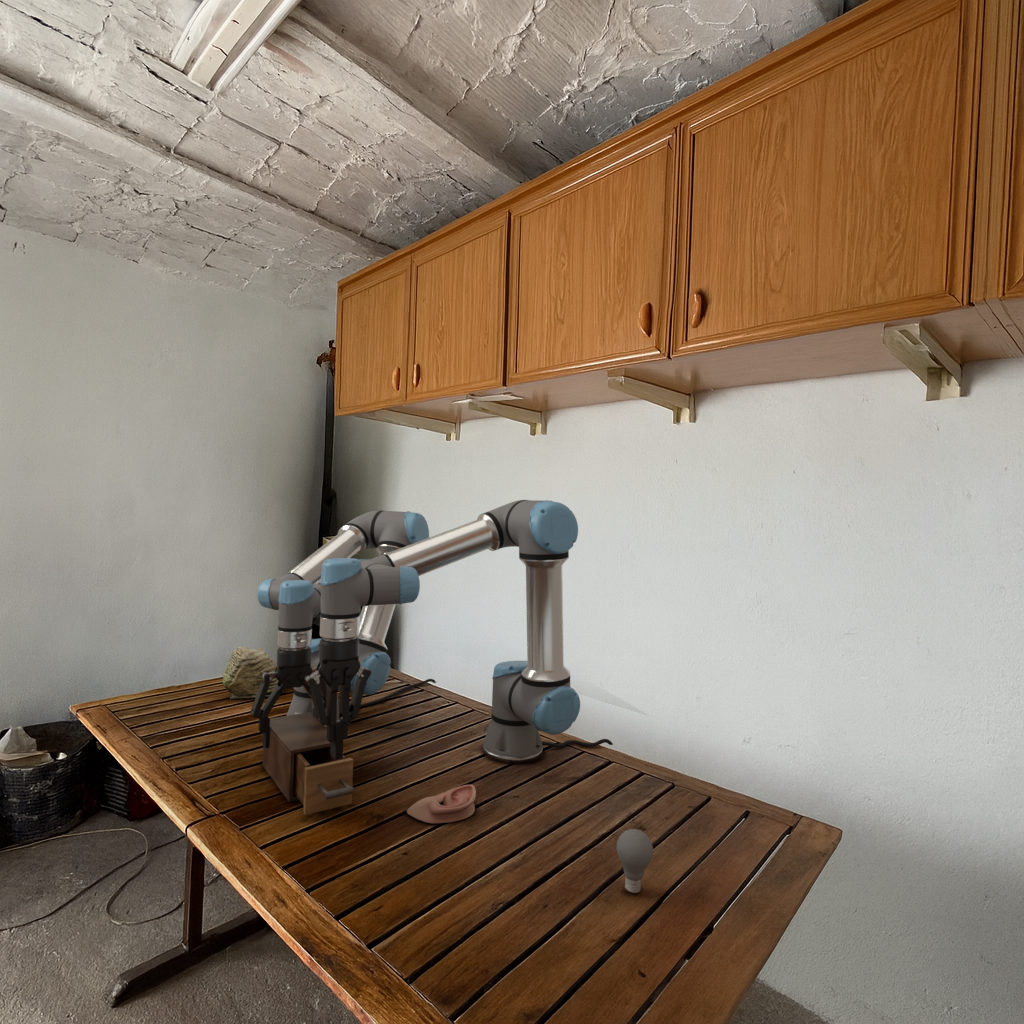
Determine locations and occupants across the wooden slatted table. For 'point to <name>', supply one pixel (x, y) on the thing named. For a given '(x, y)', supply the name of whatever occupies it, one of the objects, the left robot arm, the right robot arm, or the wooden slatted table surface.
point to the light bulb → (634, 857)
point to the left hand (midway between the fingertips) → (291, 741)
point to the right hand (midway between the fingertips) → (336, 756)
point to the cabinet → (291, 747)
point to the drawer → (322, 780)
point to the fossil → (247, 672)
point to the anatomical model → (445, 806)
